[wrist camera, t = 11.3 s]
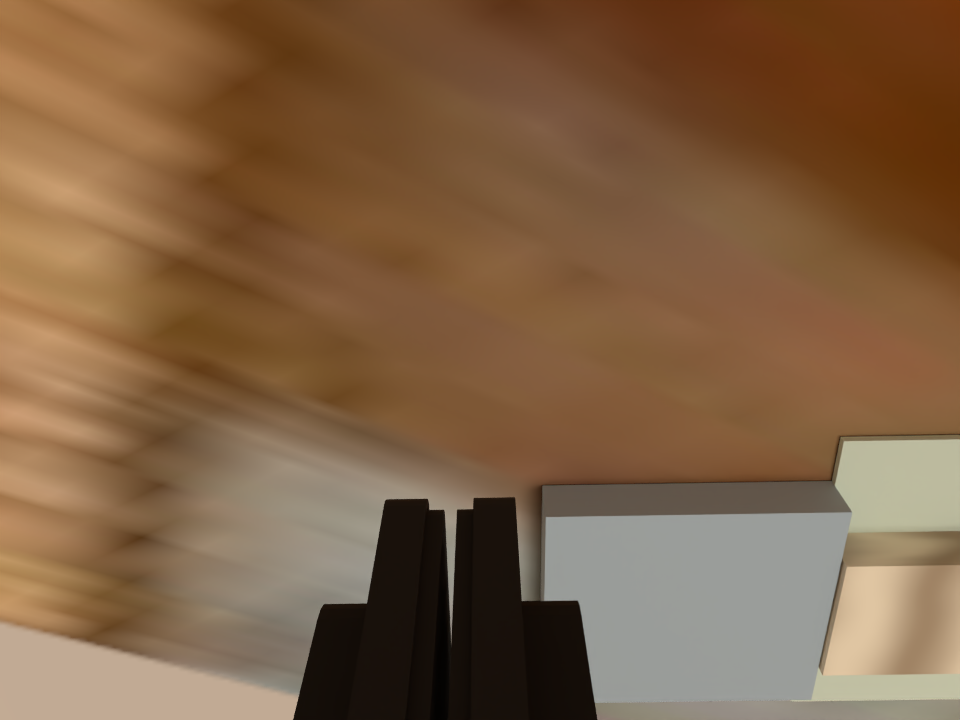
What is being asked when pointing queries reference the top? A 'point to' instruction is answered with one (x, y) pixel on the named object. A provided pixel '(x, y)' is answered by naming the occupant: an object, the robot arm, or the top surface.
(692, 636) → the block
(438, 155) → the top surface
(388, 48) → the top surface
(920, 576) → the birch tile
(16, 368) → the top surface
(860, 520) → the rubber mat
